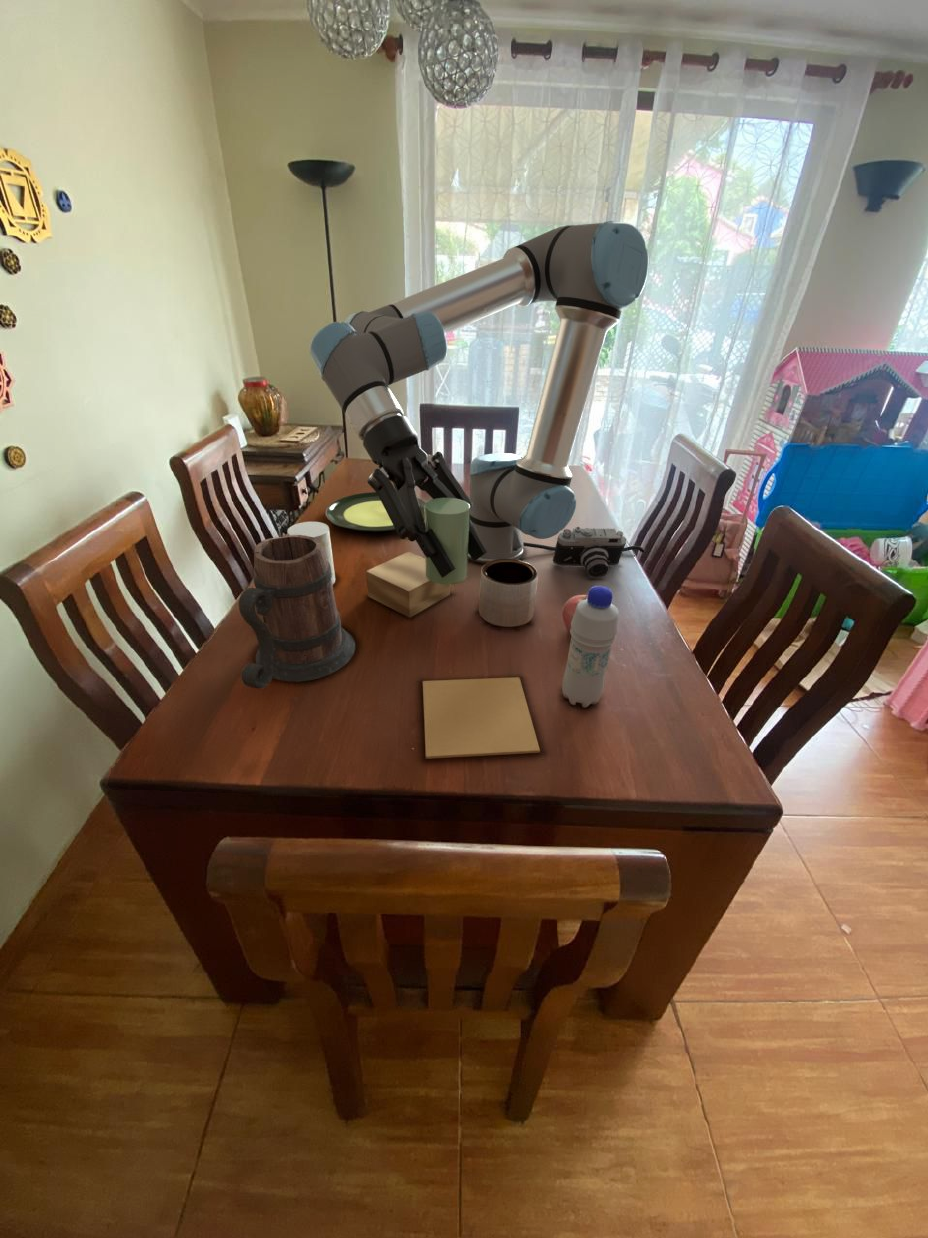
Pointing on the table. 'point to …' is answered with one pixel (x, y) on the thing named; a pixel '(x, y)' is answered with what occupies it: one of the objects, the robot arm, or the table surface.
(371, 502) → the plate
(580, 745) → the table surface
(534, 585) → the planter
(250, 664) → the tankard
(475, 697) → the cork mat
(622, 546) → the camera
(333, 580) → the cup
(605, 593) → the bottle
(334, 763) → the table surface
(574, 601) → the apple
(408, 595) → the plate
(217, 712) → the table surface
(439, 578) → the canister
